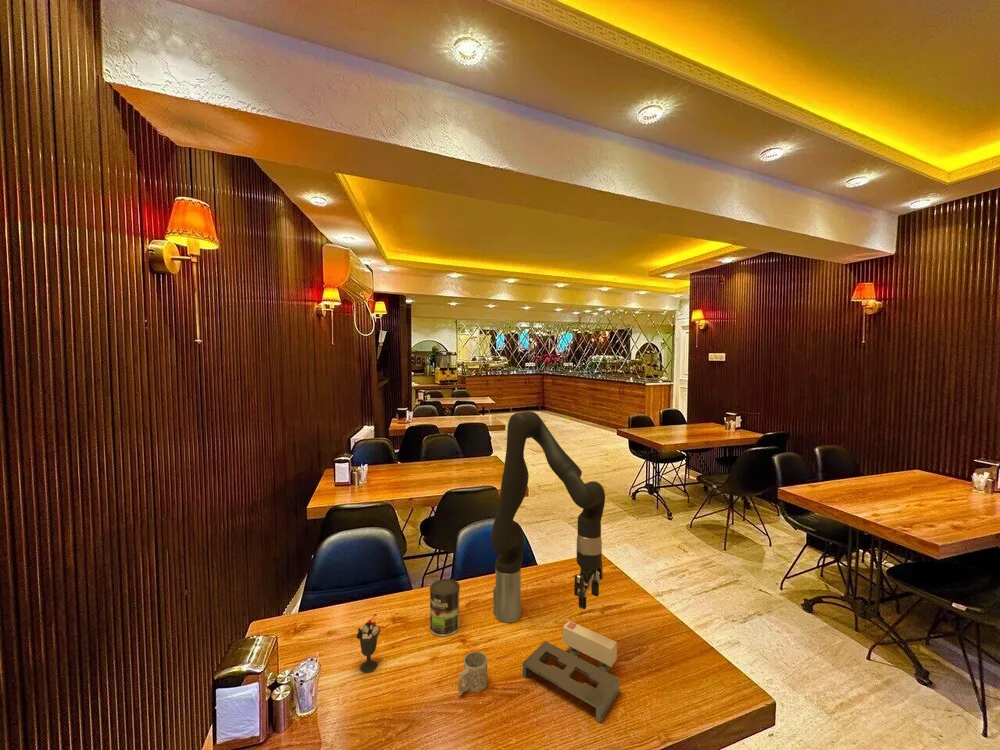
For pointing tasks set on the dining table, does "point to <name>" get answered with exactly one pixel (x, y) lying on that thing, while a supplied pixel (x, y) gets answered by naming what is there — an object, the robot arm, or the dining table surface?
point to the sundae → (368, 644)
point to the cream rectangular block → (590, 644)
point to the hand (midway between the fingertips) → (588, 601)
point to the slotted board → (595, 697)
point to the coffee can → (444, 607)
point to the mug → (473, 673)
